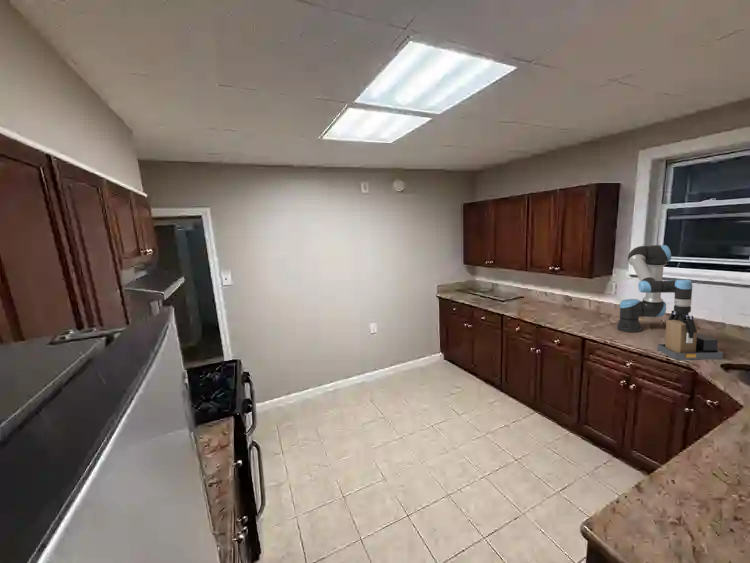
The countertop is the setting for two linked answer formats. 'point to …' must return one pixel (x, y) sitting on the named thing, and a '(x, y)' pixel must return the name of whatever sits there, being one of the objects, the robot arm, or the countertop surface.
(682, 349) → the wooden block
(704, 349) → the rack
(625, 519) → the countertop surface
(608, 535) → the countertop surface
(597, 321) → the countertop surface
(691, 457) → the countertop surface
